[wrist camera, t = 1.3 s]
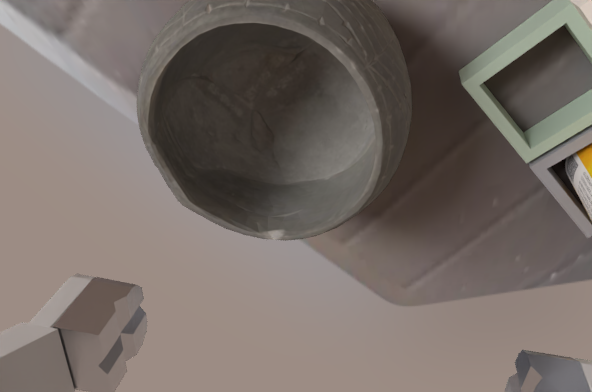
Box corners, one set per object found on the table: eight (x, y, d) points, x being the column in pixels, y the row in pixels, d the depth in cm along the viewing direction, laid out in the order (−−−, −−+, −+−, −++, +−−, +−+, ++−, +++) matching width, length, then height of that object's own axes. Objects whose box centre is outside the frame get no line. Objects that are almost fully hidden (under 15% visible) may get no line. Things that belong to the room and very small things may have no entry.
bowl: (405, -67, 40) (402, -45, 28) (417, 166, 50) (418, 258, 38) (166, -27, 45) (72, 7, 33) (221, 177, 56) (165, 261, 43)
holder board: (570, -17, 40) (593, -3, 35) (693, 159, 45) (728, 194, 40) (456, 69, 45) (462, 92, 40) (578, 219, 50) (597, 256, 45)
